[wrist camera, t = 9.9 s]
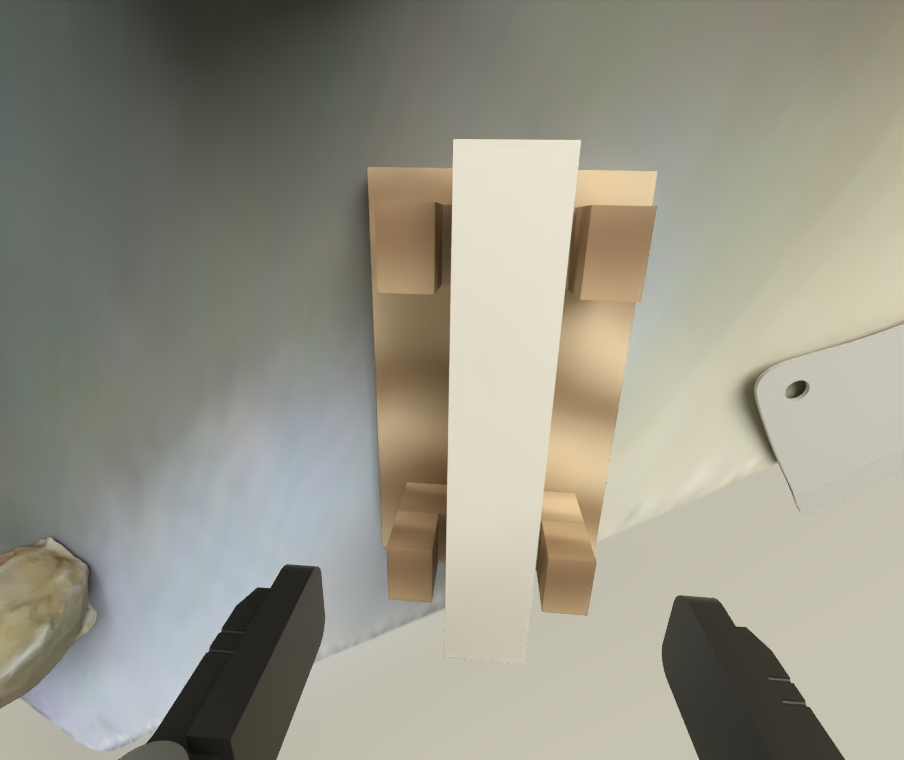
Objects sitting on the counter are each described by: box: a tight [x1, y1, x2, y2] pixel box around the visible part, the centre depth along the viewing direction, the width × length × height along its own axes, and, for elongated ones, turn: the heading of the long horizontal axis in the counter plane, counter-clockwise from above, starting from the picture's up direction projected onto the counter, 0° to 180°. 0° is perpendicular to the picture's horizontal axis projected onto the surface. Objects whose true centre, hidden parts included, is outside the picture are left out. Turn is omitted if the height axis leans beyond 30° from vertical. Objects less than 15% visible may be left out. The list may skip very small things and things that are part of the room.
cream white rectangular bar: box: [444, 139, 581, 664], centre depth 17 cm, size 20×4×4 cm, turn 179°
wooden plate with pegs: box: [367, 167, 658, 616], centre depth 20 cm, size 20×12×6 cm, turn 179°
